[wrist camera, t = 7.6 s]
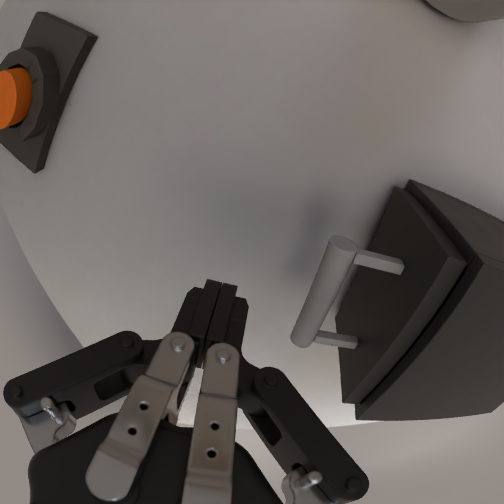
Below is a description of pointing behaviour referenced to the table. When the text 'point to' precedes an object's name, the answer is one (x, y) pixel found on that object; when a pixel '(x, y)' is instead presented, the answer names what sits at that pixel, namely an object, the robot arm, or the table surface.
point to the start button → (14, 96)
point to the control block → (45, 83)
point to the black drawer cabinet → (453, 328)
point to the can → (470, 9)
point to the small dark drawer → (381, 294)
